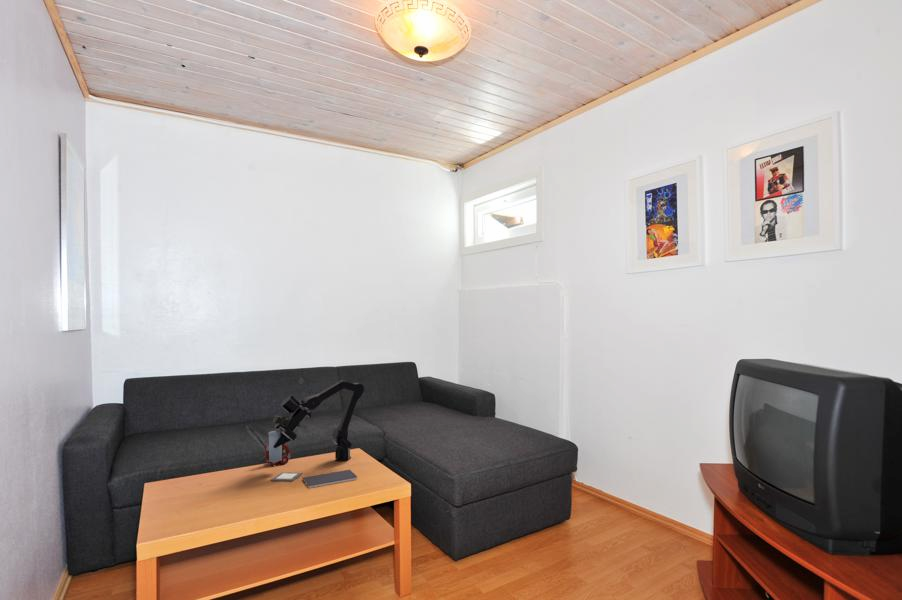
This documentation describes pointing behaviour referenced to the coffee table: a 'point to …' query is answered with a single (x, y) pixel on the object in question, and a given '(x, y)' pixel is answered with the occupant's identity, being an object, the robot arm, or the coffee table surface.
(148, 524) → the coffee table surface
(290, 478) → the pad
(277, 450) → the vase
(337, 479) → the notebook
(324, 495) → the coffee table surface
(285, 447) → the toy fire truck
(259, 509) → the coffee table surface
